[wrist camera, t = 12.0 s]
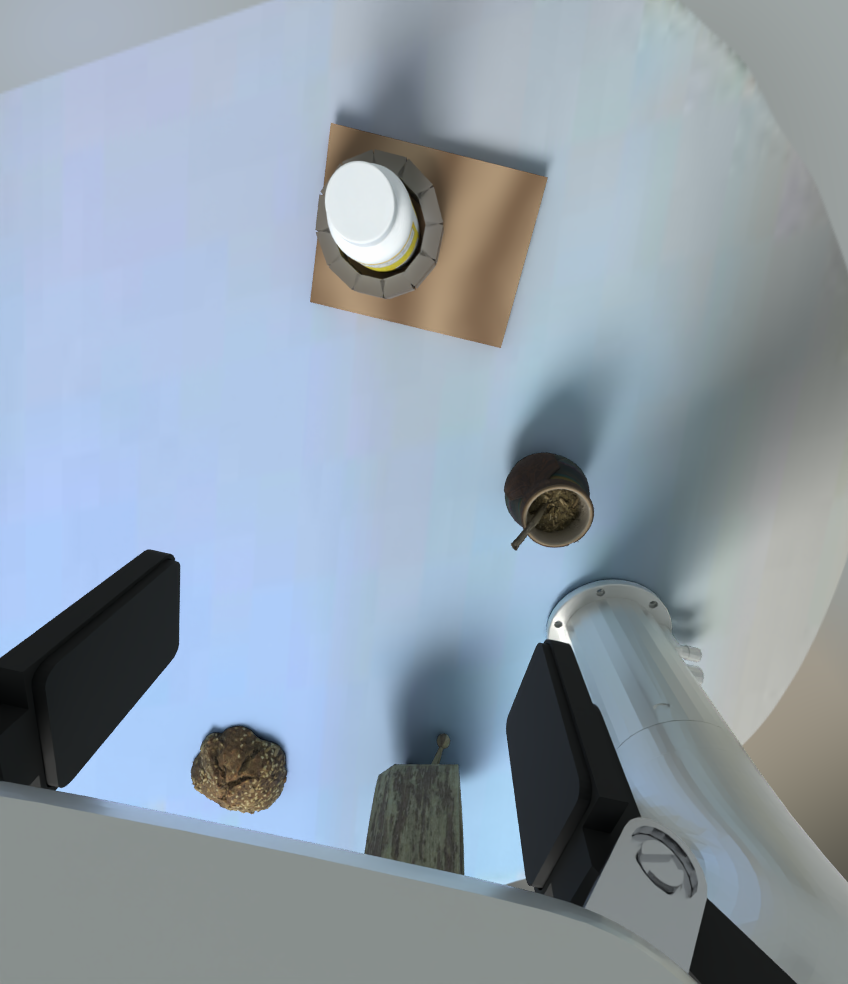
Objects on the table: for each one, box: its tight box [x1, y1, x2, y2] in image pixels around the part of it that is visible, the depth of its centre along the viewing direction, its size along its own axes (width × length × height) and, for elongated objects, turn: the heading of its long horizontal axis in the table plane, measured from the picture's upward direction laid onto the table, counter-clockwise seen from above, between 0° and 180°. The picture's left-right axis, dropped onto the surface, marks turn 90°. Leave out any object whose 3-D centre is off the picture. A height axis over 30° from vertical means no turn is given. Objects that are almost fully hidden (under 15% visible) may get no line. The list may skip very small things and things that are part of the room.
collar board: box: [310, 123, 548, 348], centre depth 33 cm, size 16×12×4 cm
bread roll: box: [191, 726, 287, 814], centre depth 56 cm, size 13×12×5 cm
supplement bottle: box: [325, 161, 420, 273], centre depth 29 cm, size 5×5×10 cm
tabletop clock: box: [364, 734, 464, 875], centre depth 44 cm, size 14×9×25 cm, turn 4°
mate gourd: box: [504, 452, 594, 550], centre depth 37 cm, size 7×8×10 cm
